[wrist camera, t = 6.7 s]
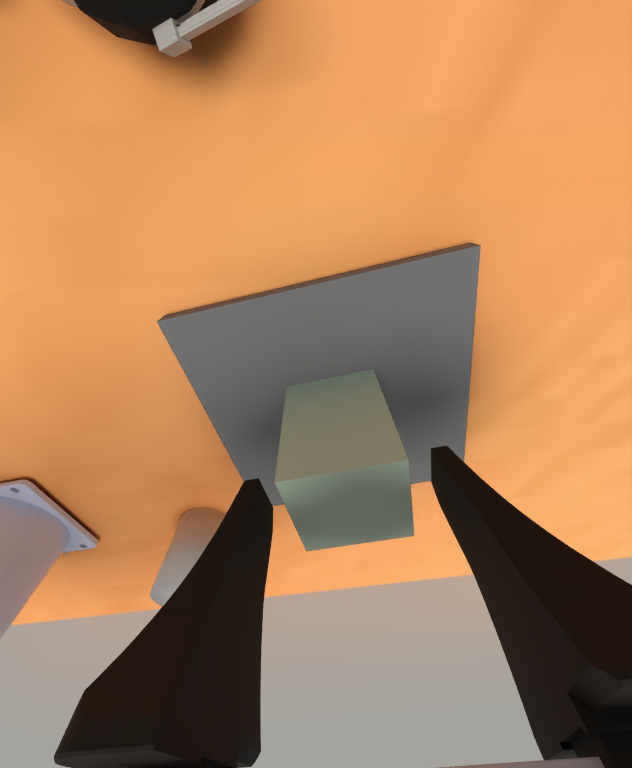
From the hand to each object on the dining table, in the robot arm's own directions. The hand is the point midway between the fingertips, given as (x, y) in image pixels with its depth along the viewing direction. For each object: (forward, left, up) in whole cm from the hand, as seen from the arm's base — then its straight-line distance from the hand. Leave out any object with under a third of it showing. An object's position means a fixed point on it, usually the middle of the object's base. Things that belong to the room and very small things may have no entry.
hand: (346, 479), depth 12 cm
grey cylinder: (-12, -9, -5) cm, 16 cm away
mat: (0, 0, -5) cm, 5 cm away
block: (0, 0, -5) cm, 5 cm away
